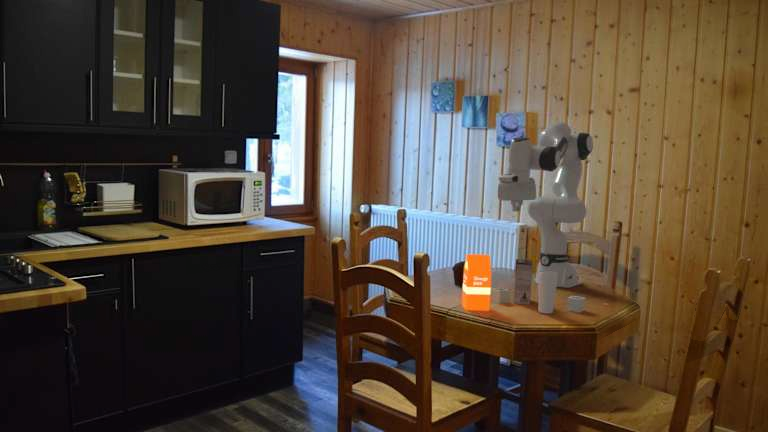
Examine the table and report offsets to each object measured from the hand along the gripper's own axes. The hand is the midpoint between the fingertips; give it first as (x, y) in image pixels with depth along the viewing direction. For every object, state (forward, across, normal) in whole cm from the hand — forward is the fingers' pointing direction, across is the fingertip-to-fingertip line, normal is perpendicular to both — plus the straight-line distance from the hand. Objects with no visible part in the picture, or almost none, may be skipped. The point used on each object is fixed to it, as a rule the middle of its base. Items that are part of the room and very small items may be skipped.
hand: (516, 211), depth 265 cm
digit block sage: (+34, +16, +8) cm, 39 cm away
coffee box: (+34, +8, +12) cm, 37 cm away
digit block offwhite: (+34, +1, +32) cm, 47 cm away
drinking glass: (+34, +14, +28) cm, 46 cm away
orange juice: (+34, +32, +10) cm, 48 cm away
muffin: (+34, +5, -22) cm, 41 cm away
